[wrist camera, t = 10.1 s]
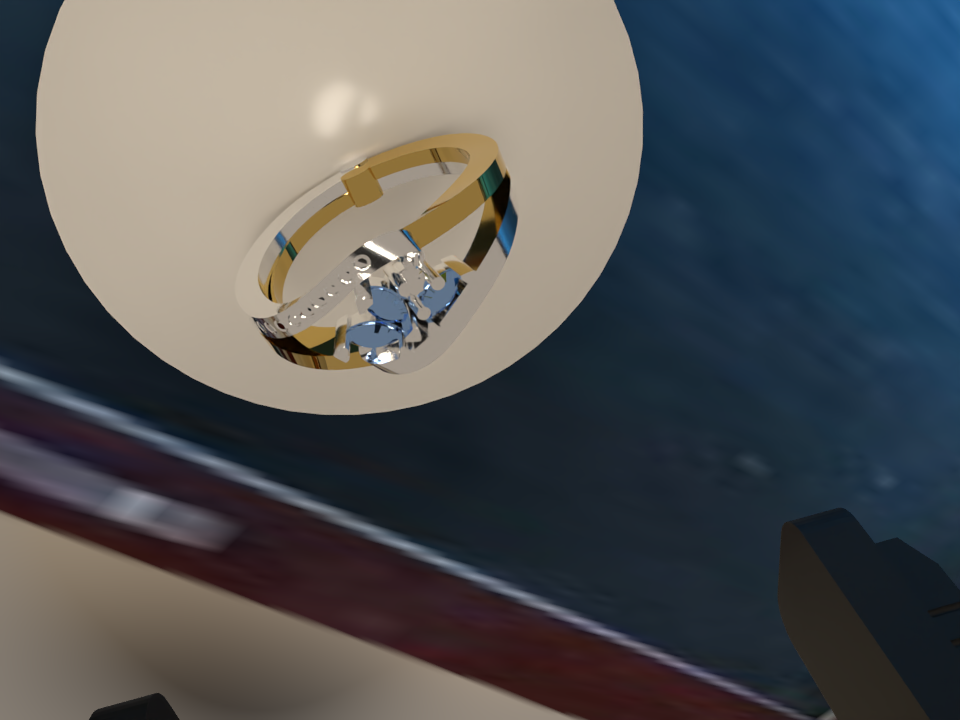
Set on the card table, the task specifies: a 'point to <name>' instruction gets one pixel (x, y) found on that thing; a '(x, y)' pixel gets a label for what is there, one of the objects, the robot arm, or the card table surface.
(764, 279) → the card table surface
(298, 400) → the cream ceramic dish
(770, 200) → the card table surface
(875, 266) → the card table surface
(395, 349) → the ring
